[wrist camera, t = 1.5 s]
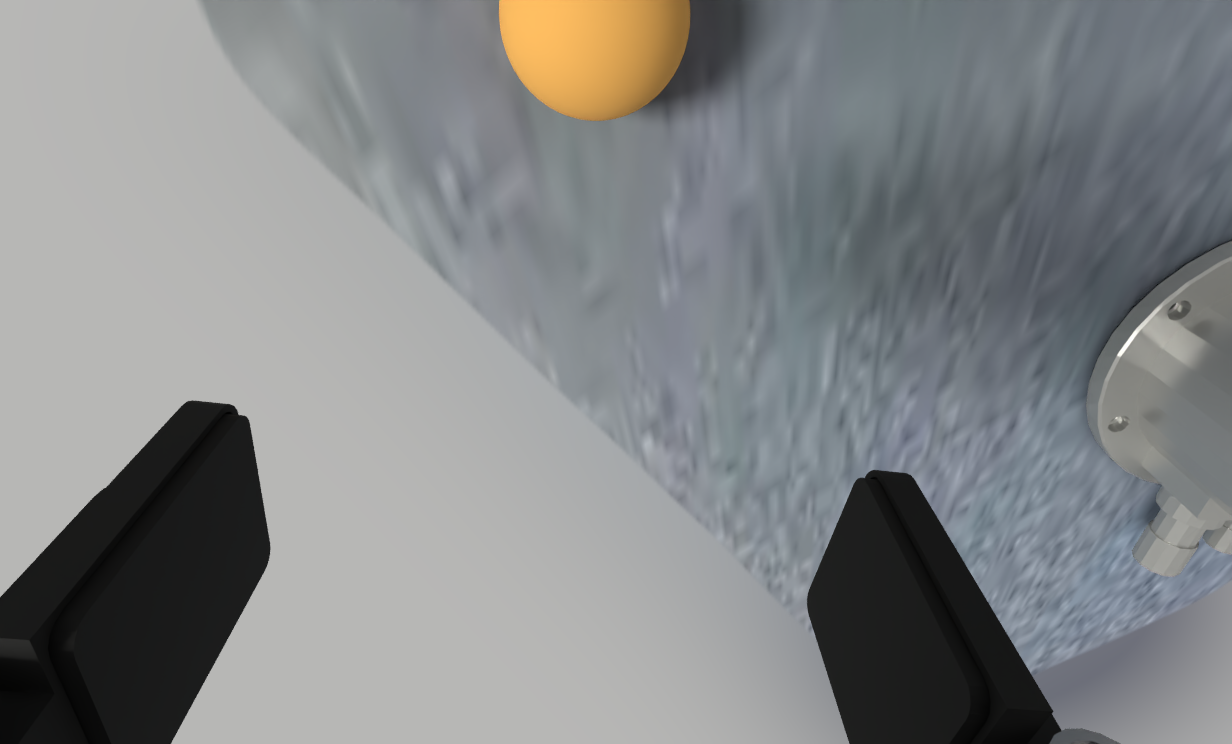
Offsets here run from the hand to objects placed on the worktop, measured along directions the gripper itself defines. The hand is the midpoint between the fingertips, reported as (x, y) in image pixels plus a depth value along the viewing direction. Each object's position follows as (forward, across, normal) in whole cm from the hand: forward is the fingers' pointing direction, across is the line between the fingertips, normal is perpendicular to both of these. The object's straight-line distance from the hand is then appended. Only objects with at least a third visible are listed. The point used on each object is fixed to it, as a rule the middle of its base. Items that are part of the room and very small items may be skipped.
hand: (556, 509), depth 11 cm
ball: (+14, 0, -6) cm, 15 cm away
